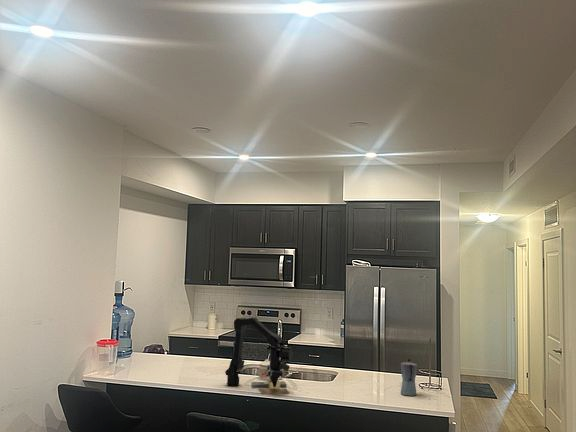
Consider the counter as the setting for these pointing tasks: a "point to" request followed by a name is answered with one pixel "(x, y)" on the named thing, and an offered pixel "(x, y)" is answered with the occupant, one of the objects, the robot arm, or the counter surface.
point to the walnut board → (274, 391)
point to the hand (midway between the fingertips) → (273, 385)
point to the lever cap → (272, 384)
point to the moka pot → (408, 378)
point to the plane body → (266, 384)
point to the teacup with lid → (264, 370)
